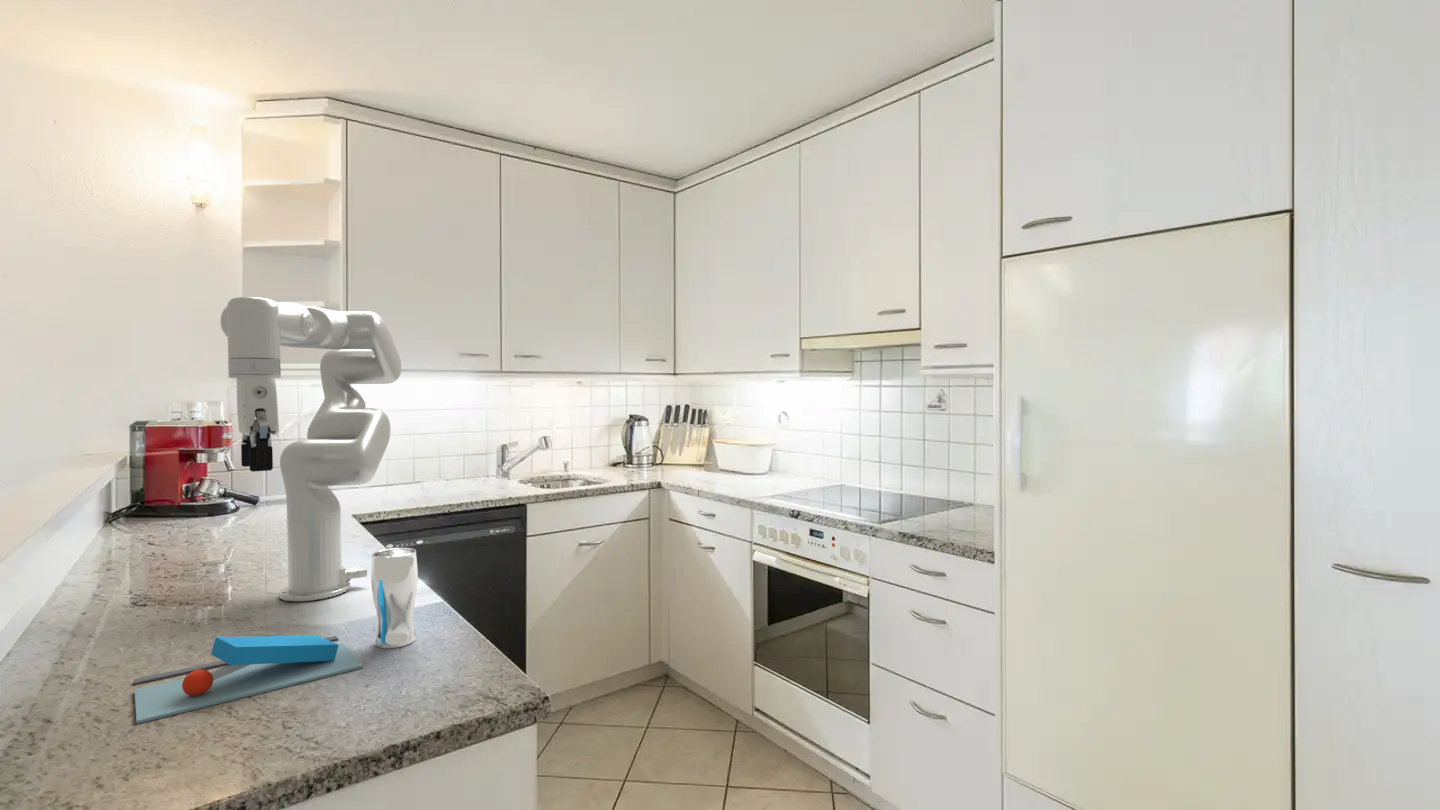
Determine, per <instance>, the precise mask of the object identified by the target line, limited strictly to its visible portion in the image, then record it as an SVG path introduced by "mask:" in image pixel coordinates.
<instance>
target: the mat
mask: <svg viewBox="0 0 1440 810" xmlns="http://www.w3.org/2000/svg"><path fill="white" fill-rule="evenodd" d="M338 644H339V645H338V649H337V653H336V657H335V661H316V662H294V663H271V664H251V665H248V666H246V667H244V668H241V669H239V670H237V671H235V672H232V673H230V674H228V675H225V676H223V677H221V678H219V679H216V680H214V681H213V684H212V686H211V688H210V689H209V690H208V691H207V692H205V693H204V694H202V695H199V696H189V695H187V694H186V693H185V692H184V691H183V688H182V683H183V680H184V678H181V679H175V680H170V681H166V682H162V683H159V684H158V683H157V684H153V685H149V686H144V687H139V688H135V689H134V701H135V702H134V706H135V718H136V724H137V725H139V724H141V723H147V722H150V721H155V720H158V719H159V720H160V719H161V718H165V717H170V716H175V715H179V714H182V713H186V712H191V711H195V710H198V709H202V708H206V707H210V706H215V705H218V704H223V703H226V702H227V703H228V702H230V701H235V700H239V699H243V698H247V697H251V696H255V695H258V694H262V693H263V694H264V693H267V692H271V691H276V690H279V689H283V688H287V687H291V686H295V685H299V684H304V683H307V682H311V681H315V680H319V679H324V678H327V677H331V676H332V677H333V676H335V675H340V674H344V673H347V672H348V673H349V672H352V671H354V670H360V669H363V668H364V667H363V666H364V665H363V664H362V663H361V662H360V661H359V660H358V658H357V657H356V656H355V655H354V654H353V653H352V651H350V649H348V647H347V646H346V645H345V644H344V643H338Z"/></svg>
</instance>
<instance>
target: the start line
mask: <svg viewBox="0 0 1440 810" xmlns="http://www.w3.org/2000/svg"><path fill="white" fill-rule="evenodd" d="M323 638H324V637H323ZM324 639H327V640H329V641H332V642H336V641H335V640H337V641H339V637H338V636H337V635H334V636H329V637H325V638H324ZM227 665H229V664H228V663H226V662H224V661H222V660H217V661H213V662H209V663H204V664H199V665H194V666H189V667H184V668H180V669H179V668H178V669H176V670H171V671H167V672H162V673H157V674H156V673H155V674H152V675H148V676H147V675H146V676H143V677H142V676H141V677H138V678H134V679H133V686H136V685H141V684H145V683H149V682H153V681H158V680H162V679H167V678H168V679H169V678H171V677H173V678H174V677H177V676H180V675H185V674H189V673H191V672H193V671H195V670H199V669H203V670H208V669H214V668H219V667H224V666H227Z"/></svg>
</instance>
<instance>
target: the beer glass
mask: <svg viewBox="0 0 1440 810" xmlns="http://www.w3.org/2000/svg"><path fill="white" fill-rule="evenodd" d="M371 554H372V559H371V574H370V575H371V576H370V577H371V579H370V580H371V581H370V582H371V594H372V597H373V598H372V599H373V603H374V608H375V613H376V618H377V630H376V636H375V641H374V643H375V646H376V648H377V647H378V648H380V649H397V648H401V647H406V646H408V645H411V644H412V643H414V642H415V641H416V637H417V636H416V631H415V628H414V608H415V603H416V598H417V597H416V596H417V592H418V591H417V590H418V582H419V579H418V578H419V573H418V561H417V560H418V559H417V549H415V548H412V547H393V548H387V549H382V550H378V551H375V552H373V553H371Z"/></svg>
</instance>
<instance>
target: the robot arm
mask: <svg viewBox="0 0 1440 810" xmlns="http://www.w3.org/2000/svg"><path fill="white" fill-rule="evenodd" d="M220 327H221V330H222V331H223V332H222V333H223V334H224V335H225V336H226V337H227V370H228V371H227V373H228V375H227V376H228V379H236V411H237V424H238V425H237V426H238V432H239V433H241V435H242V436H241V444H240V449H241V450H240V452H241V459H240V460H241V466H242V467H249V471H250V472H266V471H272V470H273V469H274V468H273V467H274V465H273V464H274V463H273V460H274V459H273V457H274V456H273V453H274V452H273V446H272V442H273V441H272V436H271V435H277V434H278V433H279V432H280V425H279V409H278V408H279V407H278V406H279V405H278V394H277V393H278V392H277V384H276V379H281V378H282V376H281V347H286V348H287V347H289V348H299V349H322V350H323V349H324V350H328V351H326V352H325V353H324V354H323V356H322V357H321V360H320V364H319V371H320V372H319V373H320V379H321V387H322V391H323V395H324V398H323V401H322V403H321V405H320V407H319V408H318V410H317V411H316V413H315V415H314V416H313V418H312V420H311V422H310V423H309V425H308V428H307V432H306V433H307V434H306V436H307V439H302V440H296V441H294V442H292V443H289V444H288V445H287V446H285V448H284V449H282V452H281V454H280V457H279V466H280V468H279V469H280V472H281V477H282V480H283V486H284V491H285V500H286V528H287V529H286V530H287V531H286V535H287V536H286V537H287V539H286V540H287V586H285V587H283V588H281V589H280V591H279V592H278V593H279V594H278V596H279V599H281V600H283V601H287V602H310V601H311V602H312V601H318V599H319V600H324V599H329V598H333V597H336V595H337V596H340V595H341V593H342V594H344V593H343V592H345V593H346V592H348V591H349V590H350V589H351V582H350V581H351V580H352V579H360V578H366V577H368V568H367V567H362V568H358V567H353V568H345V567H344V566H343V565H342V516H341V515H342V514H341V511H342V510H341V504H340V501H339V499H338V497H337V496H336V495H335V494H334V492H333V491H332V490H331V488H330V487H331V486H332V487H333V486H336V487H337V486H338V487H339V486H359V485H364V484H367V483H368V482H371V480H372V479H373V478H374V476H375V474H376V472H377V470H378V467H379V466H380V463H381V461H382V459H383V457H384V455H385V452H386V450H387V447H388V444H389V441H390V437H391V423H390V419H389V417H388V416H387V413H385V412H384V411H383V410H380V409H378V408H373V407H371V408H369V407H367V408H366V401H365V400H364V399H363V397H362V396H361V394H360V393H359V392H358V391H357V389H355V388H353V386H351V385H384V384H385V385H387V384H392V383H394V382H396V381H397V380H398V379H399V378H400V377H401V374H402V373H401V372H402V362H401V361H402V360H401V358H400V353H399V352H398V349H397V347H396V343H395V341H394V339H393V337H392V334H391V331H390V329H389V328H388V325H387V324H386V321H384V319H383V318H382V317H381V315H380V314H377V312H373V311H340V310H333V309H328V308H327V309H326V308H321V307H318V306H306V305H302V304H299V303H295V302H283V301H282V302H278V301H277V302H276V301H275V300H272V299H269V298H263V297H253V296H251V297H250V296H240V297H238V296H237V297H234V298H231V299H229V301H228V302H227V305H226V307H225V308H224V309H223V310H222V312H221V315H220ZM347 590H348V591H347ZM339 594H340V595H339ZM332 596H333V597H332ZM328 597H329V598H328Z"/></svg>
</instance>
